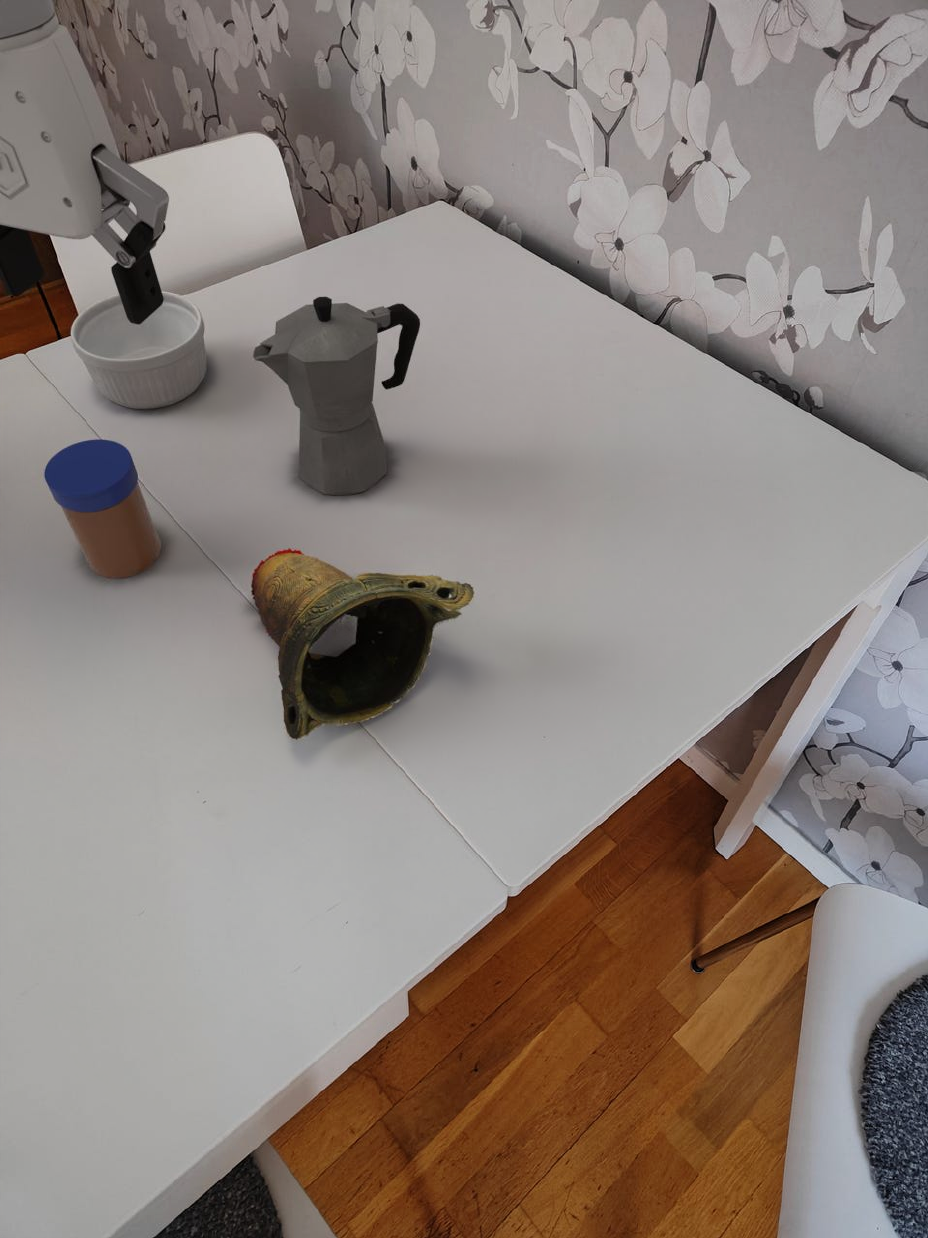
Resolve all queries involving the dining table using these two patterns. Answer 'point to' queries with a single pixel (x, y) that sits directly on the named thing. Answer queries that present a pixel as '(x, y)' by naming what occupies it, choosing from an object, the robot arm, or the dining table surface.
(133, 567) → the jar
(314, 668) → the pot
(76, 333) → the ramekin
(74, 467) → the lid
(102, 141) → the robot arm
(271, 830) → the dining table surface
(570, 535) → the dining table surface
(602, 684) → the dining table surface
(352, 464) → the coffeepot
